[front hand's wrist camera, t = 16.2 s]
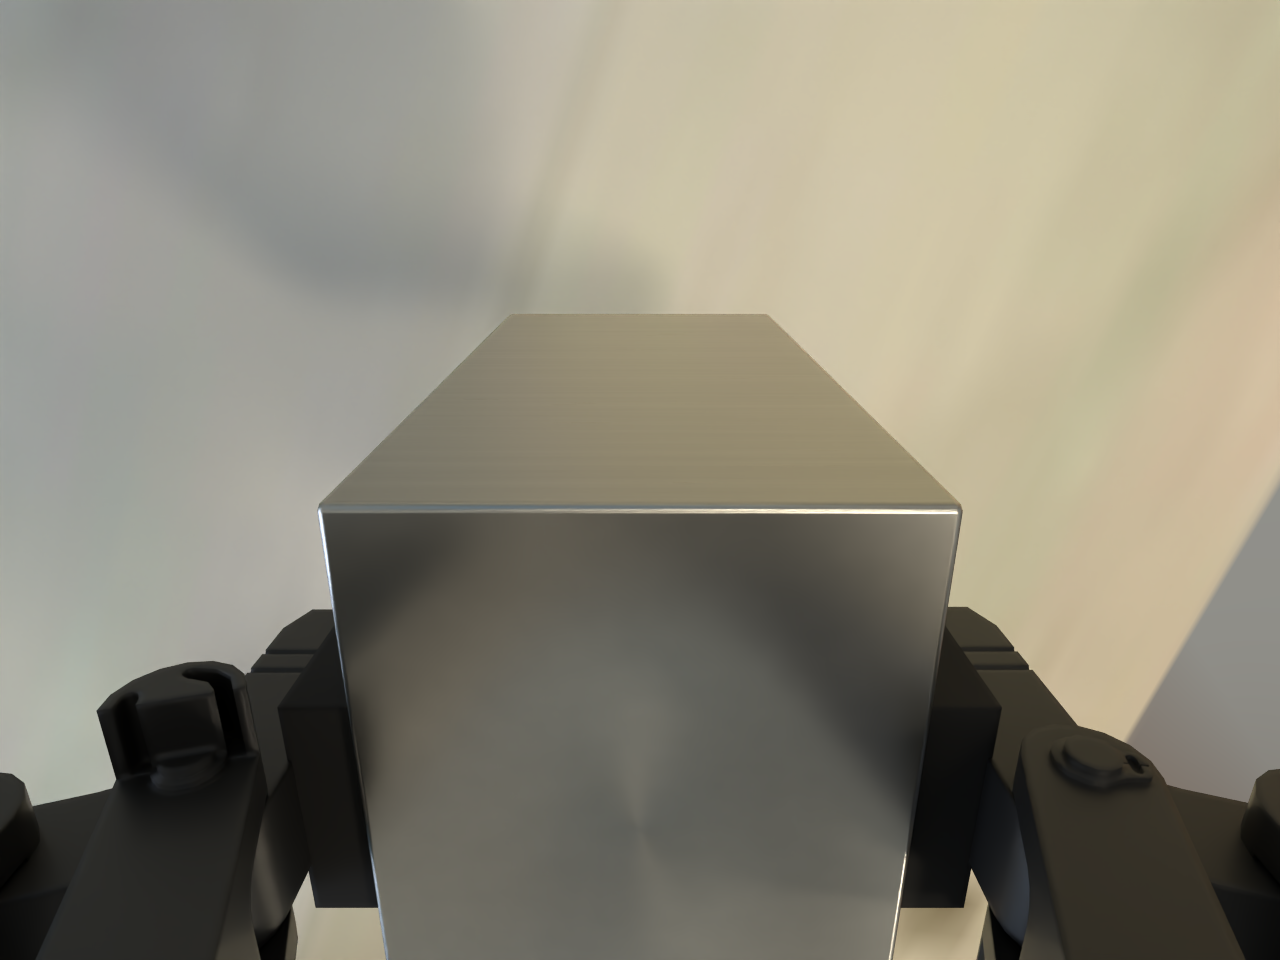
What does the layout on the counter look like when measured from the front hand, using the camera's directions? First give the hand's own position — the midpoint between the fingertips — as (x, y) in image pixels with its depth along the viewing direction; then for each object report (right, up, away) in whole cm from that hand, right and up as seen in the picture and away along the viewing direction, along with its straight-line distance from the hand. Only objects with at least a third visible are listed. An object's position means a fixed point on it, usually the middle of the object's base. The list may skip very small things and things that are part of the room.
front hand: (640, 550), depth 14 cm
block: (0, +2, +4) cm, 5 cm away
